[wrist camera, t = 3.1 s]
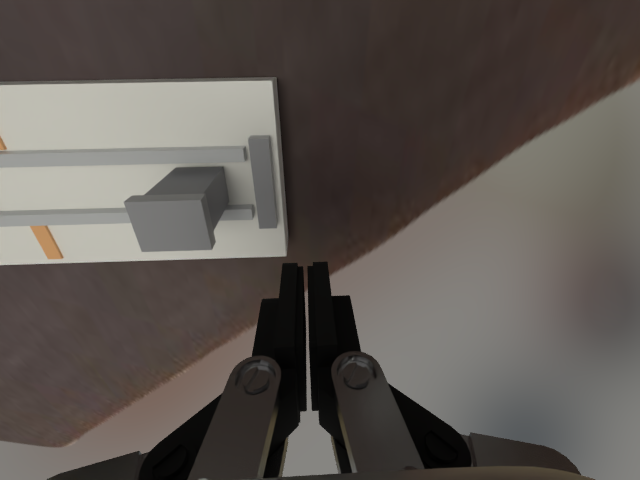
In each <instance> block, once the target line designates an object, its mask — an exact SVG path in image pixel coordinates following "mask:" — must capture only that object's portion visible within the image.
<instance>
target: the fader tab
mask: <svg viewBox="0 0 640 480" xmlns="http://www.w3.org/2000/svg"><path fill="white" fill-rule="evenodd" d="M228 203H229V196H228V190H227V185H226V179H225V173H224V167H223V166H219V167H176V168H174V169H173V170H172V171H171V172H170V173H169V174H168V175H166V176H165V177H164V178H163V179H162V180H161V181H159V182H158V183H157V184H156V185H155V186H154V187H153V188H151V189H150V190H149V191H148V192H147V193H146V194H144V195H132V196H130V197H129V198H128V199H127V200H126V201H124V205H125V208H126V210H127V213H128V216H129V218H130V221H131V224H132V227H133V229H134V232H135V235H136V238H137V240H138V243H139V246H140V249H141V251H142V252H160V251H194V250H212V249H213V247H214V245H215V243H216V240H215V236H214V230H215V228H216V226H217V224H218V222H219V220H220V218H221V216H222V214H223V212H224V211H225V209H226V207H227V205H228Z"/></svg>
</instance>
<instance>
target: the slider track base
mask: <svg viewBox="0 0 640 480" xmlns="http://www.w3.org/2000/svg"><path fill="white" fill-rule="evenodd" d="M219 166H223V167H224V173H225V179H226V185H227V190H228V196H229V203H228V205H227V207H226V209H225V211H224V212H223V214H222V216H221V218H220V220H219V222H218V224H217V226H216V228H215V230H214V236H215V240H216V243H215V245H214V247H213V249H212V250H194V251H160V252H142V251H141V249H140V246H139V243H138V240H137V238H136V235H135V232H134V229H133V227H132V224H131V221H130V218H129V216H128V213H127V210H126V208H125V205H124V201H126V200H127V199H128V198H129V197H130V196H132V195H144V194H146V193H147V192H148V191H149V190H150V189H151V188H153V187H154V186H155V185H156V184H157V183H158V182H159V181H161V180H162V179H163V178H164V177H165V176H166V175H168V174H169V173H170V172H171V171H172V170H173V169H174V168H176V167H219ZM287 246H288V224H287V210H286V197H285V184H284V170H283V157H282V143H281V130H280V117H279V103H278V90H277V77H252V78H192V79H131V80H71V81H10V82H0V265H16V264H49V263H82V262H115V261H148V260H181V259H214V258H247V257H280V256H287Z"/></svg>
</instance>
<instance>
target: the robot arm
mask: <svg viewBox="0 0 640 480" xmlns="http://www.w3.org/2000/svg"><path fill="white" fill-rule="evenodd" d="M308 313H309V314H308V315H309V352H310V353H309V354H310V377H311V399H312V411H318V410H319V423H320V425H321V426H322V427H323V428H324V429H325V430H326V431H327V432H328V433H330V434H331V442H332V447H333V451H334V456H335V460H336V465H337V469H338V474H327V475H310V476H293V477H282V474H283V468H284V463H285V458H286V452H287V446H288V436H289V435H290V434H291V433H292V432H293V431H294V430H295V429H296V428H297V427H298V425H299V422H300V411H306V410H307V405H306V404H307V403H306V402H307V401H306V400H307V399H306V317H305V296H304V275H303V266H301V267H298V265H297V263H283V265H282V275H281V284H280V294H279V298H274V299H262V302H261V307H260V313H259V318H258V324H257V330H256V335H255V341H254V347H253V352H252V357H249V358H246V359H245V360H243V361H241V362H240V363H239V364H238V365H237V366H236V367H235V368H234V369H233V371H232V373H231V374H230V376H229V379H228V381H227V384H226V386H225V389H224V391H223V393H222V394H221V395H219V396H218V397H217V398H216V399H214V400H213V401H212V402H211V403H209V404H208V405H207V406H206V407H204V408H203V409H202V410H200V411H199V412H198V413H197V414H195V415H194V416H193V417H191V418H190V419H189V420H188V421H186V422H185V423H184V424H182V425H181V426H180V427H179V428H177V429H176V430H175V431H173V432H172V433H171V434H170V435H168V436H167V437H166V438H165V439H163V440H162V441H161V442H159V443H158V444H157V445H156V446H155V447H154V448H153V449H152V450H151V451H150V452H148V453H144V454H141V453H140V451H137V452H133V453H130V454H126V455H123V456H120V457H116V458H113V459H109V460H106V461H102V462H99V463H95V464H92V465H88V466H85V467H81V468H78V469H74V470H71V471H67V472H64V473H60V474H58V475H56V476H53V477H51V478H49V479H47V480H595V479H592V478H589V477H586V476H582V475H581V474H580V472H579V471H578V469H577V467H576V466H575V465H574V464H573V463H572V462H570V460H569V459H568V458H567V457H565V456H564V455H562V454H561V453H559V452H558V451H556V450H554V449H552V448H549V447H546V446H542V445H536V444H531V443H525V442H520V441H514V440H509V439H504V438H498V437H493V436H487V435H482V434H476V433H470V435H469V436H466V435H461V434H459V433H458V432H457V431H456V430H455V429H453V428H452V427H451V426H449V425H448V424H446V423H445V422H444V421H442V420H441V419H439V418H438V417H436V416H435V415H433V414H432V413H431V412H429V411H428V410H426V409H425V408H423V407H422V406H420V405H419V404H417V403H416V402H414V401H413V400H411V399H410V398H409V397H407V396H406V395H404V394H403V393H401V392H400V391H398V390H397V389H396V388H394V387H393V386H391V385H390V384H388V383H387V381H386V378H385V376H384V373H383V371H382V369H381V367H380V365H379V364H378V362H377V361H376V360H375V359H374V358H373V357H372V356H370V355H368V354H366V353H363V352H361V349H360V344H359V339H358V334H357V329H356V325H355V319H354V314H353V309H352V304H351V299H350V296H349V295H348V296H331V288H330V279H329V271H328V263H327V262H313V266H308Z"/></svg>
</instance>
